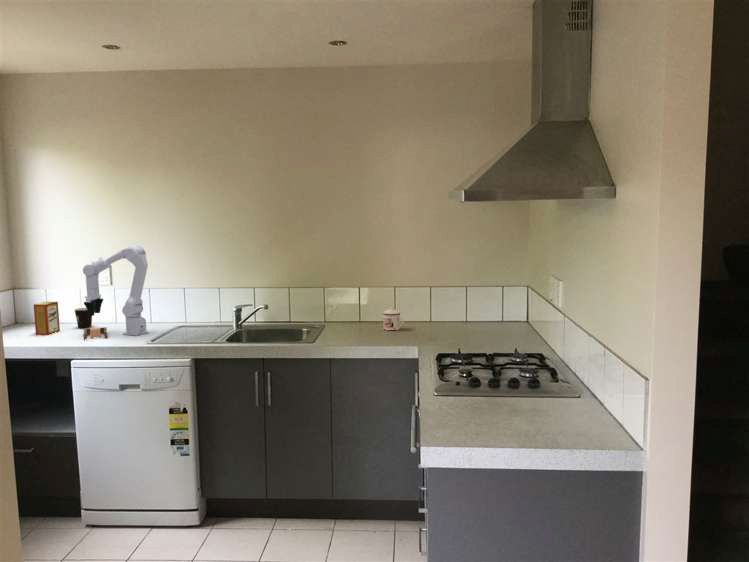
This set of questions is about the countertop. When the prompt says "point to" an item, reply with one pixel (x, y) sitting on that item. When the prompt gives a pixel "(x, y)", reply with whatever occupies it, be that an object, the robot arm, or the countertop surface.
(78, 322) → the coffee mug
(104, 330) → the wooden frame
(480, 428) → the countertop surface
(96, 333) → the terracotta block
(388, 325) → the teacup with lid
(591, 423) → the countertop surface
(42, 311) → the baking soda box
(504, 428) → the countertop surface
